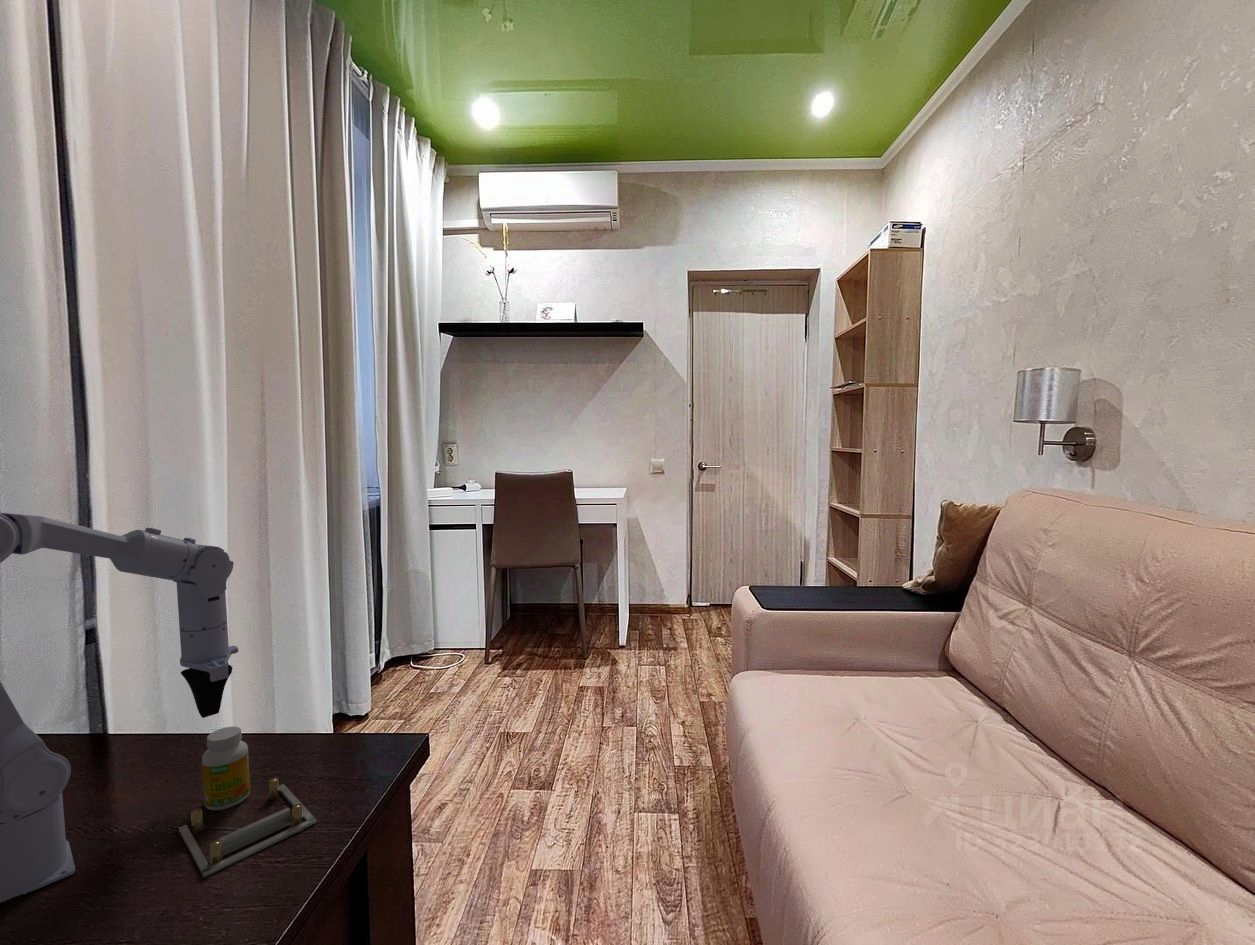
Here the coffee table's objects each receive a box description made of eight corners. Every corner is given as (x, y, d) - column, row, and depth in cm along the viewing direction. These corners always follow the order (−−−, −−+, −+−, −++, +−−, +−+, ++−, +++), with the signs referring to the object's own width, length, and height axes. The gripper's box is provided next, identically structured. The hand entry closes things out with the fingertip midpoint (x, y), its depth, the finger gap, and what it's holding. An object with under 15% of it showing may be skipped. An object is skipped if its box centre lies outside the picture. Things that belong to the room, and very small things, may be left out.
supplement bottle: (206, 817, 78) (201, 747, 78) (203, 798, 83) (199, 732, 82) (253, 800, 82) (249, 734, 81) (248, 783, 86) (244, 720, 85)
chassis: (203, 877, 68) (202, 857, 67) (179, 831, 76) (177, 813, 75) (316, 823, 77) (315, 805, 77) (283, 787, 85) (282, 770, 85)
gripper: (250, 628, 84) (255, 719, 85) (221, 609, 93) (227, 691, 94) (190, 642, 79) (197, 738, 79) (166, 620, 88) (172, 706, 89)
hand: (209, 714), depth 87 cm, fingers closed
